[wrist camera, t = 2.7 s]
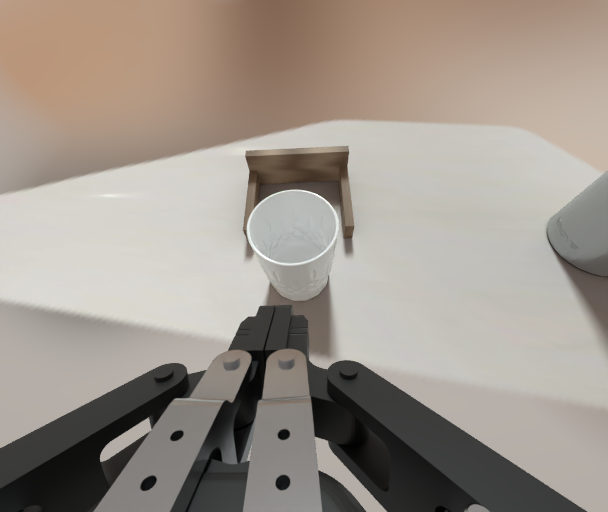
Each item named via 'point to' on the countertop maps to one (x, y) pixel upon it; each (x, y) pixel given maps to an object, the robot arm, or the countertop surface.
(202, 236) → the countertop surface
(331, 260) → the white cup
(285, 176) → the walnut bay
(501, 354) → the countertop surface
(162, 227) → the countertop surface
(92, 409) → the robot arm
